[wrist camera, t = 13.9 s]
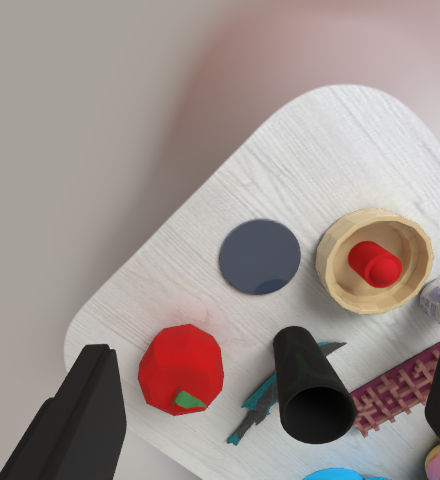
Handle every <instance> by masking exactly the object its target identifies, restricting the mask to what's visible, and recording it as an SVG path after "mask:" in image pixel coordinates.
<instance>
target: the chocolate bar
mask: <svg viewBox="0 0 440 480" xmlns="http://www.w3.org/2000/svg"><path fill="white" fill-rule="evenodd" d="M439 354H440V343H438V344H436V345H435V346H433V347H431V348H429V349H428V350H426V351H424V352H422V353H421V354H419V355H417V356H415V357H414V358H412V359H410V360H408V361H407V362H405V363H403V364H401V365H399V366H398V367H396V368H394V369H392V370H391V371H389V372H387V373H385V374H384V375H382V376H380V377H378V378H377V379H375V380H373V381H371V382H370V383H368V384H366V385H364V386H363V387H361V388H359V389H357V390H356V391H354V392H352V393H350V395H351V397H352V398H353V400H354V403H355V405H356V418H355V421H354V423H353V425H354V426H355V427H357V428H358V429H359V430H360V431H361V433H362V435H363V437H364V438H365V437H367V436H368V433H367V431H368V430H370V429H372V428H374V430H375V431H378V430H380V429H379V426H378V425H379V424H381V423H383V422H385V421H387V420H390V422H391V423H393V422H395V419H394V416H396V415H398V414H400V413H402V412H403V411H405V412H406V413H407V414H410V413H411V411H410V409H409V408H411V407H413V406H415V405H416V404H418V403H420V402H421V403H422V404H423V405H426V403H427V401H426V399H428V395H429V391H430V388H431V384H432V380H433V377H434V373H435V369H436V365H437V362H438V358H439Z"/></svg>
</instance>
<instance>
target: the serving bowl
mask: <svg viewBox="0 0 440 480" xmlns="http://www.w3.org/2000/svg"><path fill="white" fill-rule="evenodd" d="M362 241H373V242H375V243H377V244H378V245H380V246H381V247H383V248H384V249H386V250H387V251H389V252H390V253H392V254H393V255H395V256H396V257H398V258H399V260H400V261H401V264H402V272H401V275H400V277H399V278H398V280H397V281H396V282H395V283H393V284H392V285H390V286H388V287H385V288H375V287H372V286H370V285H369V284H368V283H367V282H366V281H365V280H364V279H363V278H361V277H360V276H359V275H358V274H357V273H356V272H355V271H354V270H353V269H352V268H351V267H350V265H349V263H348V255H349V252H350V250H351V249H352V248H353V247H354V246H355V245H356V244H358V243H359V242H362ZM433 259H434V254H433V249H432V245H431V240H430V237H429V236H428V235H427V234H426V233H425V231H424V230H423V229H422V228H421V227H420V225H419V224H418V223H416V222H413V221H411V220H409V219H407V218H404V217H402V216H400V215H397V214H395V213H392V212H390V211H388V210H385V209H383V208H370V209H360V210H358V211H355V212H353V213H350V214H348V215H345V216H343V217H341V218H340V219H339V220H338V221H337V222H336V223H335V224H333V225H332V226H331V227H330V228H329V229H328V230H327V231H326V232H325V234H324V236H323V238H322V240H321V242H320V244H319V246H318V247H317V254H316V264H315V268H316V270H317V273H318V276H319V279H320V282H321V283H322V285H323V286H324V287H325V289H326V290H327V291H328V293H329V294H330V295H331V297H332V298H333V299H334V300H335V301H336V302H338V303H339V304H340V305H341V306H342V307H343V308H344V309H347V310H350V311H353V312H356V313H358V314H382V313H385V312H388V311H390V310H393V309H396V308H399V307H401V306H402V305H404V304H405V303H406V302H408V301H409V300H410V299H412V298H413V297H414V296H415V295H417V294H418V293H419V291H420V290H421V288H422V287H423V285H424V284H425V282H426V281H427V279H428V278H429V276H430V272H431V268H432V263H433Z"/></svg>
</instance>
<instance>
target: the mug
mask: <svg viewBox="0 0 440 480" xmlns="http://www.w3.org/2000/svg"><path fill="white" fill-rule="evenodd" d="M303 480H391V479H387V478H383V477H373V478H366V479H364V478H363V477H362V476H361V475H359V474H358V473H356V472H354V471H351V470H347V469H343V468H330V469H325V470H321V471H317V472H315V473H313V474H311V475H309V476H307V477H305V478H304V479H303Z"/></svg>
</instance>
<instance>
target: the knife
mask: <svg viewBox="0 0 440 480" xmlns="http://www.w3.org/2000/svg"><path fill="white" fill-rule="evenodd" d="M345 344H347V343H345V342H343V343H337V342H333V343H319V344H318V346H319V347H320V349H321V351H322V352H323V354H324V355H325V357H326V356H327V355H329V354H330V353H331V352H333V351H334V350H336V349H338V348H340V347H342V346H343V345H345ZM277 401H279V400H278V390H277V379H276V373H275V374H274V375H272V376H271V377H270V378H269V379H268V380H267V381H266V382H265V383H264V384H263V385H262V386H261V387H260V388H259V389H258V390H257V391H256V392H255V393H254V394H253V395H252V396H251V397H250V398H249V399H248V400H247V401H246V402H245V403H244V404H243V405H242V406H241V407H242V408H243V407H247V408H249V409H250V414H249V415H248V417H247V418H246V420H245V421H244V422H243V424H242V425H241V427H240V428H239V429H238V430H237V432H235V434H234V435H232V436H231V437H229V438H228V439H227V443H228V444H229V443H233V444H234V445H236V446H237V444H238V443H239V441H240V440H241V438H242V437H243V436H244V434H245V432H246V431H247V430H248V429H249V428H250V427H251V425H252V424H253V423H254V421H255V423H256V422H257V423H256V425H258V424H259V423H260V422H261V421H262V420H263V419H264V418H265V417H266V415H268V414H270V413H269V409H270V407H271V406H272V405H273V404H274V403H276V402H277Z"/></svg>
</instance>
